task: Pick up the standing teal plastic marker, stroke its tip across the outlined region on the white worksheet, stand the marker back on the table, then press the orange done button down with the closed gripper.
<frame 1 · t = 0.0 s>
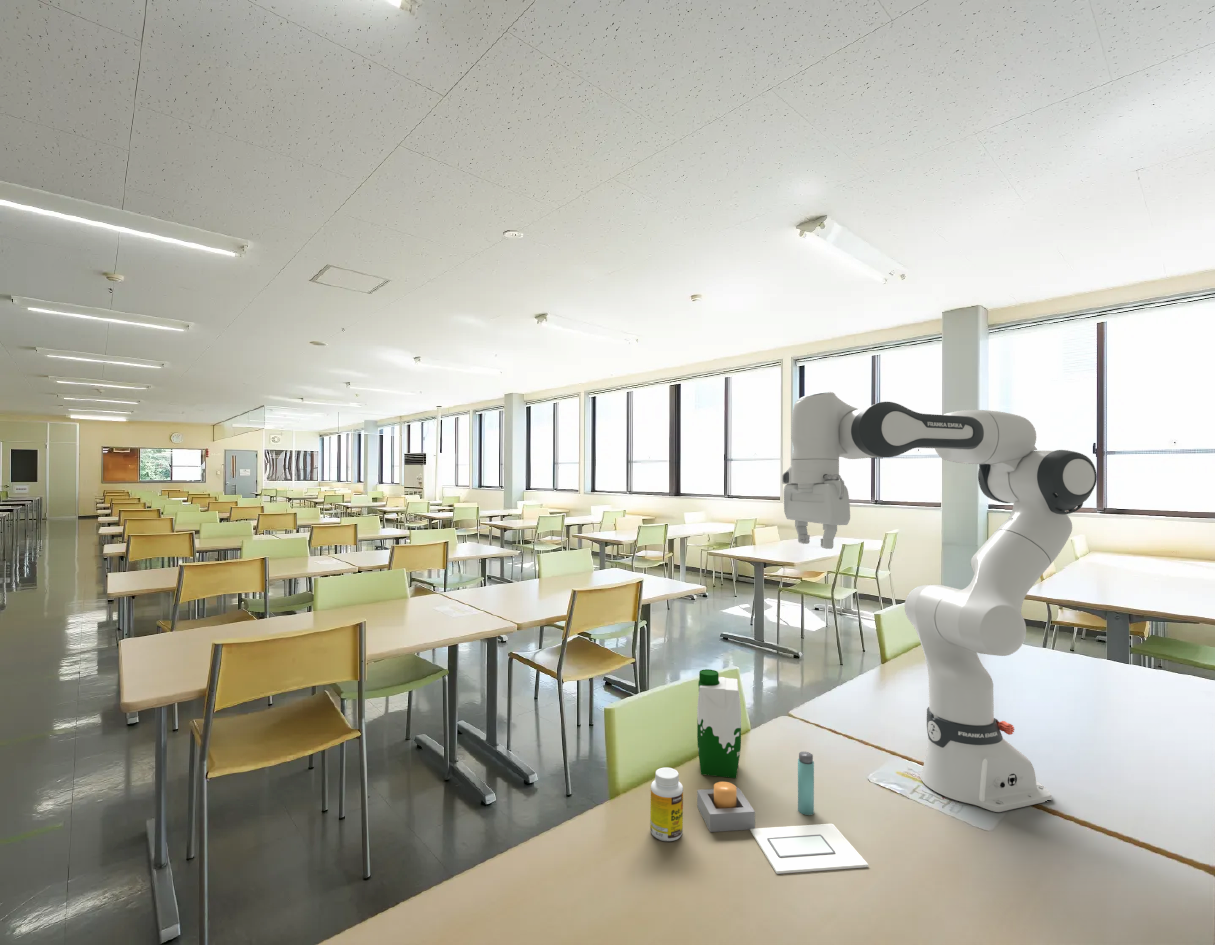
hand: (814, 545, 112), 48 cm above the table, tool pointing down, fingers open, 8 cm apart
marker: (805, 810, 105), on the table
milk carton: (718, 769, 121), on the table
supplement bottle: (666, 834, 98), on the table
worksheet: (806, 848, 94), on the table
button housing: (725, 817, 103), on the table
done button: (725, 796, 103), point 4 cm above the table, slide at 0.0 cm
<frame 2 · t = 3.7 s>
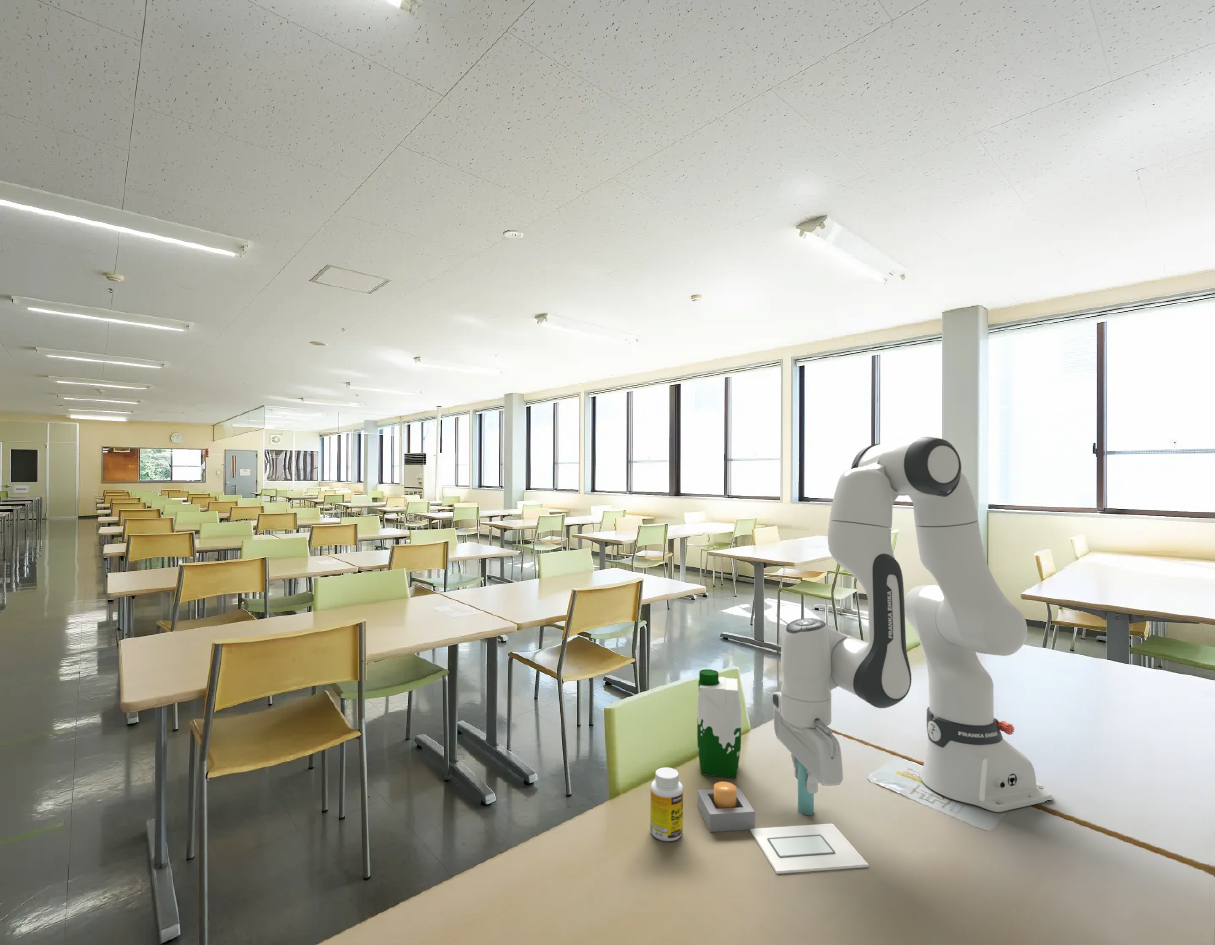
hand: (805, 785, 105), 5 cm above the table, tool pointing down, fingers closed on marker, 3 cm apart
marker: (805, 810, 105), on the table, touching gripper
everything else where it was.
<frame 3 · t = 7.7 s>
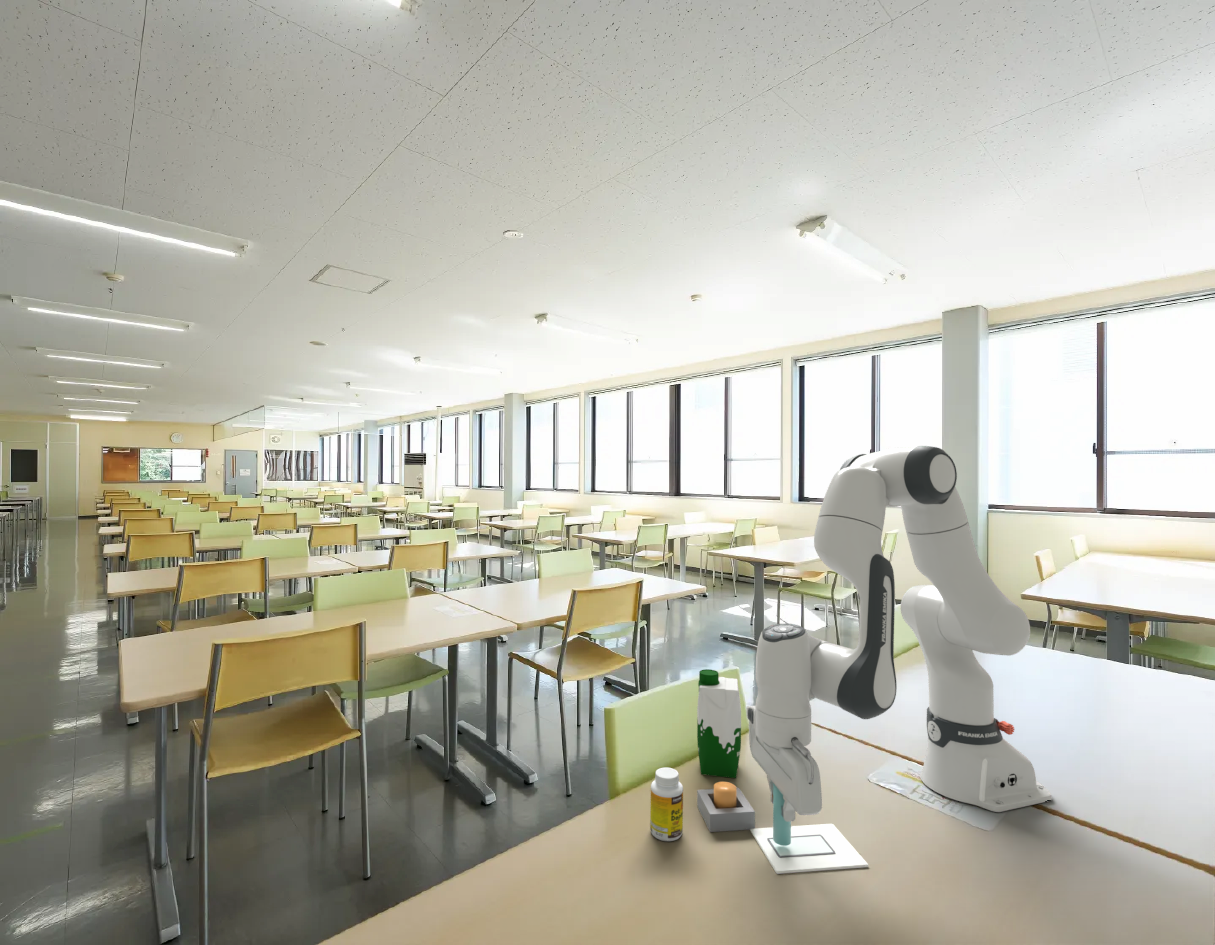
hand: (782, 811, 94), 6 cm above the table, tool pointing down, fingers closed on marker, 3 cm apart
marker: (781, 840, 94), point 2 cm above the table, touching gripper
everything else where it was.
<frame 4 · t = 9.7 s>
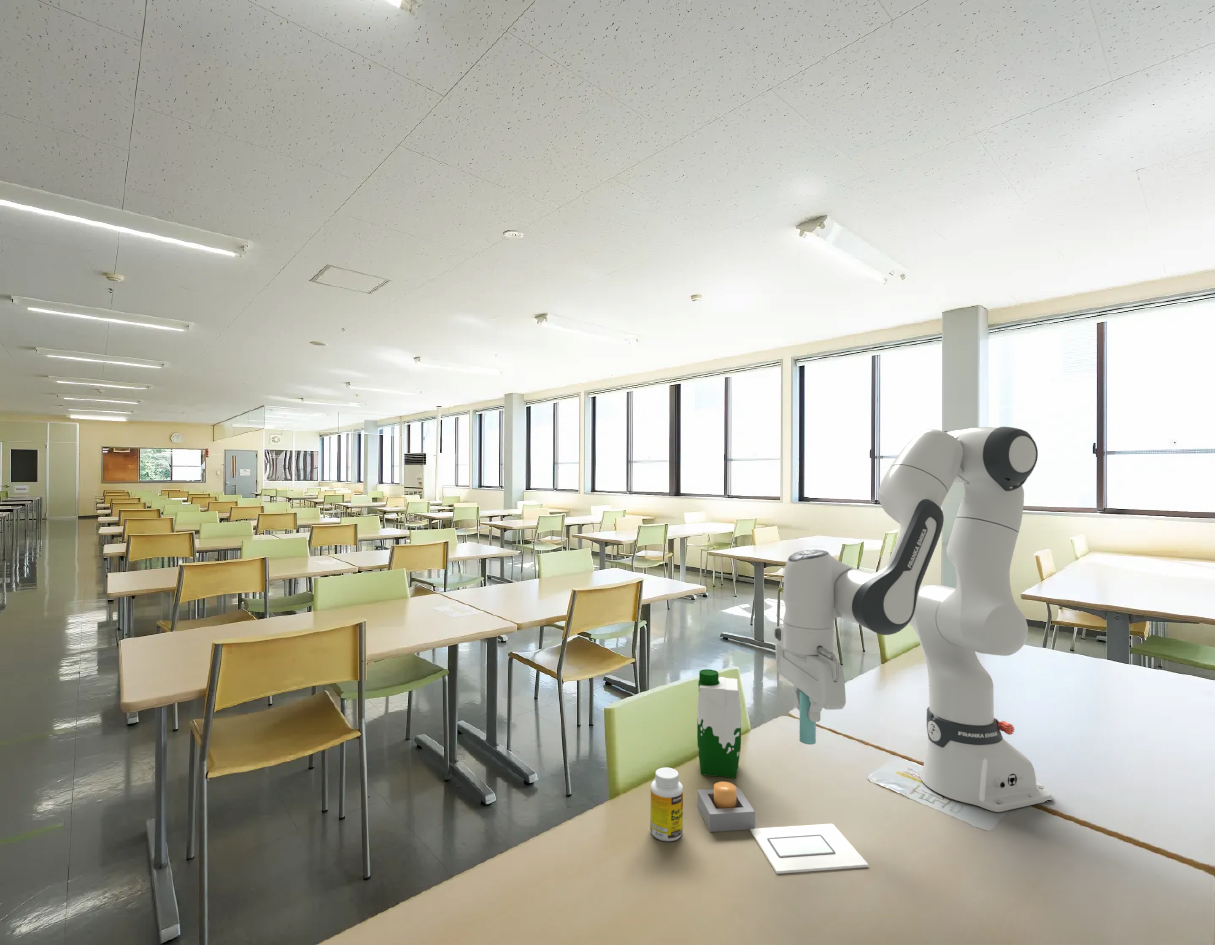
hand: (808, 715, 105), 18 cm above the table, tool pointing down, fingers closed on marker, 3 cm apart
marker: (807, 741, 105), point 13 cm above the table, touching gripper
everything else where it was.
when the fingers open (5 cm above the table, at t = 11.7 s): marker stays where it is, on the table.
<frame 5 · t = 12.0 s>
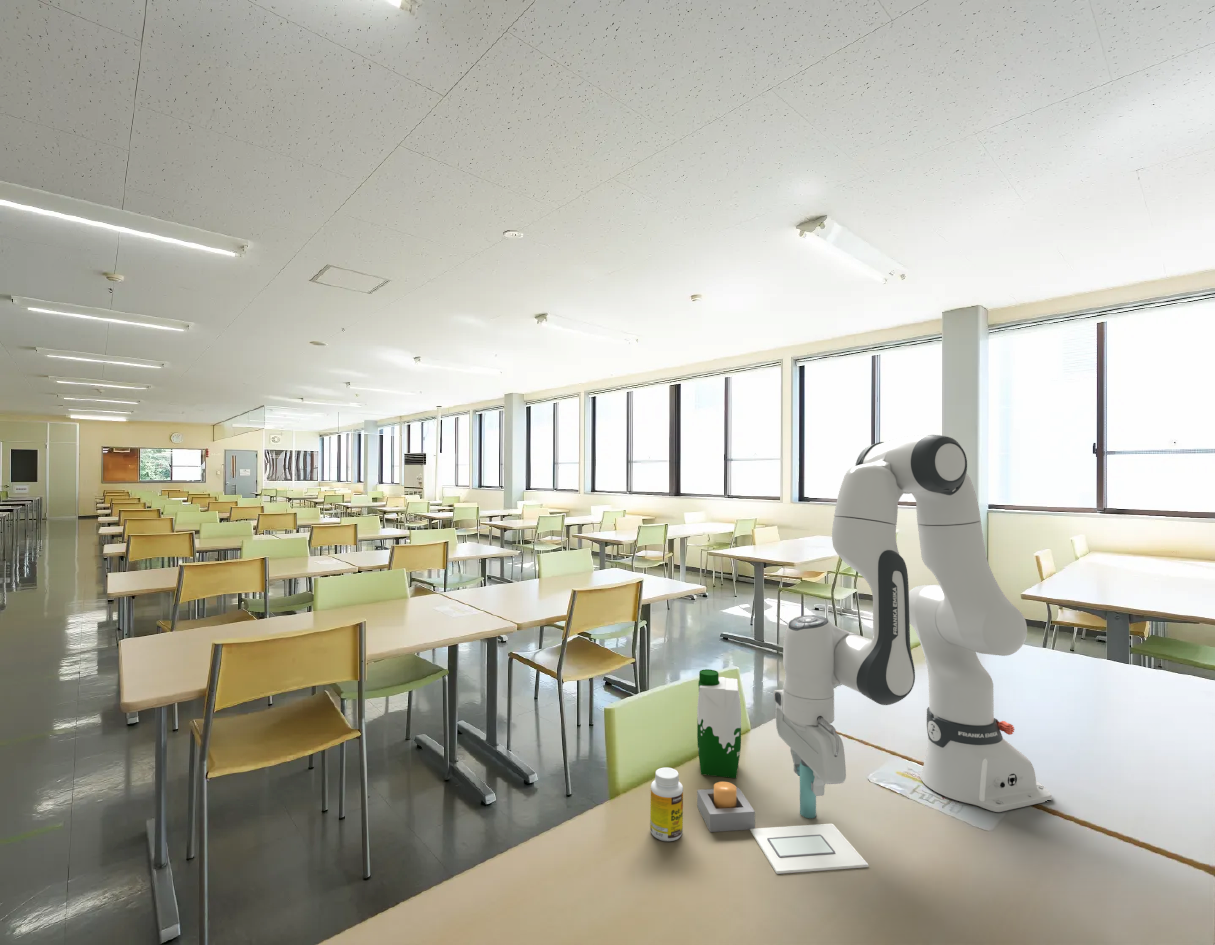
hand: (808, 783, 105), 5 cm above the table, tool pointing down, fingers open, 5 cm apart
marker: (807, 814, 104), on the table
everything else where it was.
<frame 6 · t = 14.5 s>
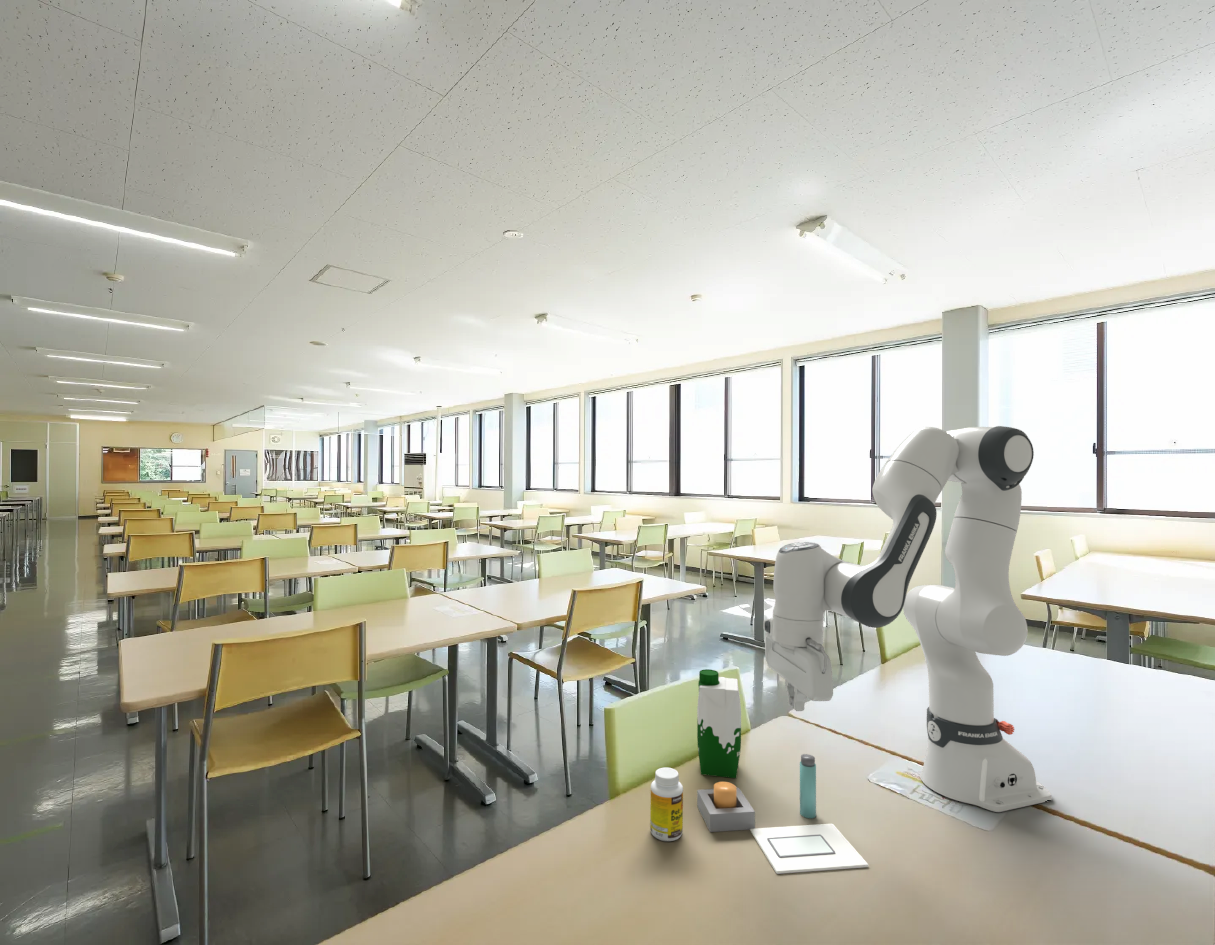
hand: (796, 708, 104), 19 cm above the table, tool pointing down, fingers closed
nothing on the table moved.
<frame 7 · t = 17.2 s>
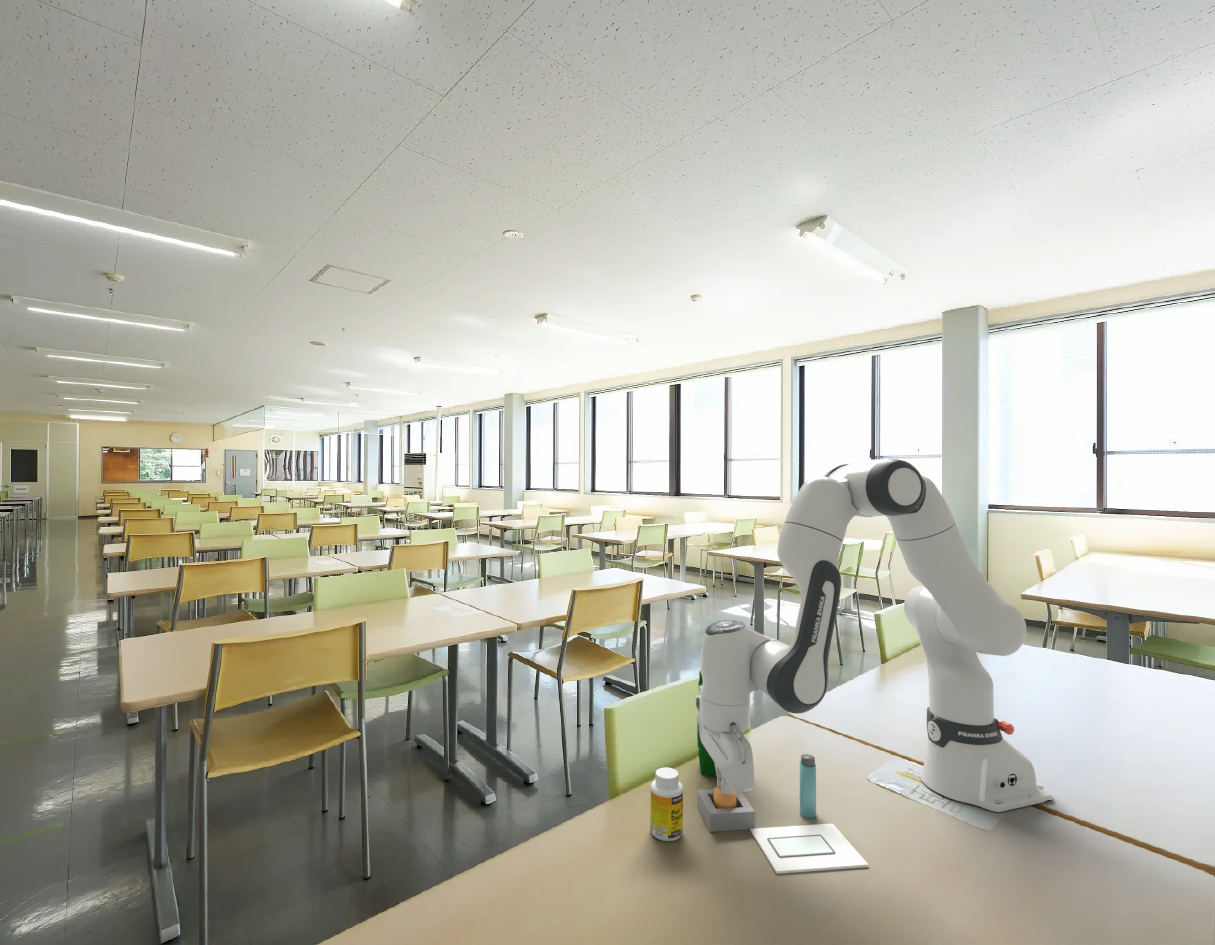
hand: (724, 790, 103), 5 cm above the table, tool pointing down, fingers closed, pressing on done button
done button: (725, 800, 103), point 3 cm above the table, slide at 0.7 cm, touching gripper
everything else where it was.
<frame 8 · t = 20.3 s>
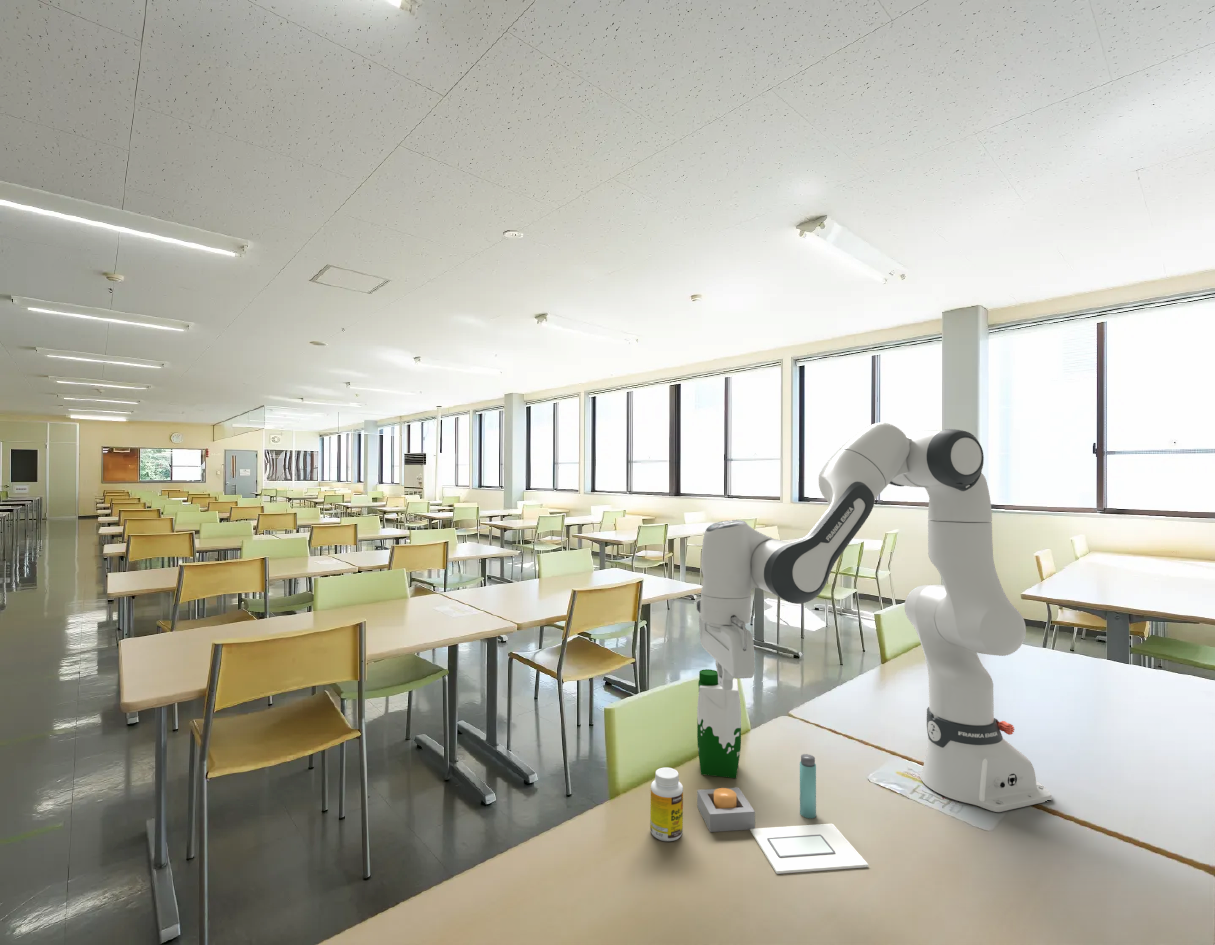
hand: (725, 687, 104), 23 cm above the table, tool pointing down, fingers closed
done button: (725, 803, 103), point 2 cm above the table, slide at 1.1 cm
everything else where it was.
at the end: done button slide at 1.1 cm; the gripper is holding nothing; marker inside the target area (0.1 cm from its centre), on the table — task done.
